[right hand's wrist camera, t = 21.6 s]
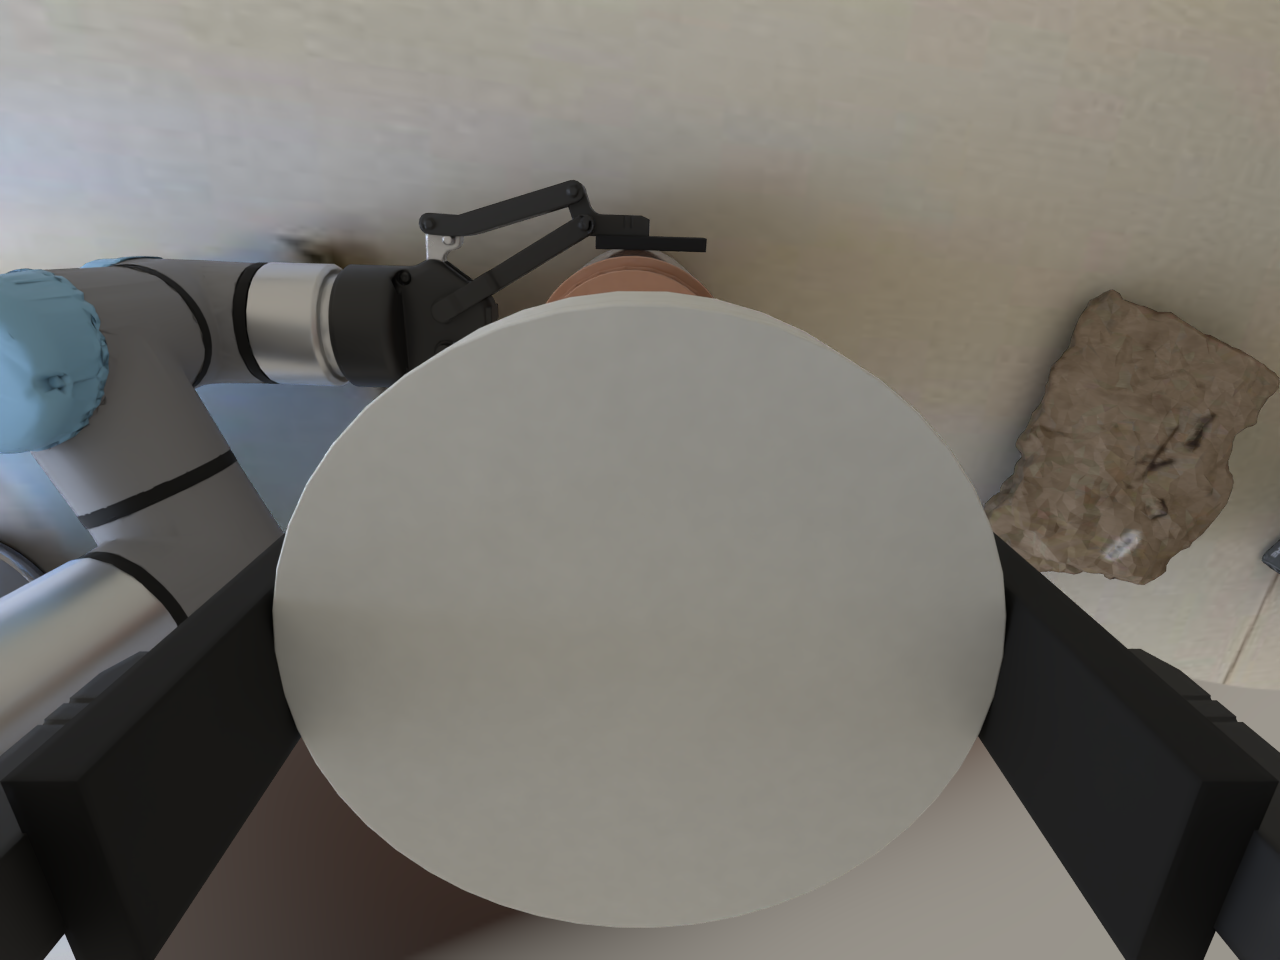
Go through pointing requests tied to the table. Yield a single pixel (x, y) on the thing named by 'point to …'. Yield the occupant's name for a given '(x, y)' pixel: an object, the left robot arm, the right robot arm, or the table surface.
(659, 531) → the lid
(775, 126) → the table surface
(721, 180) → the table surface
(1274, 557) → the graphics card box
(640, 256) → the jar
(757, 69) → the table surface
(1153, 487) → the stone
